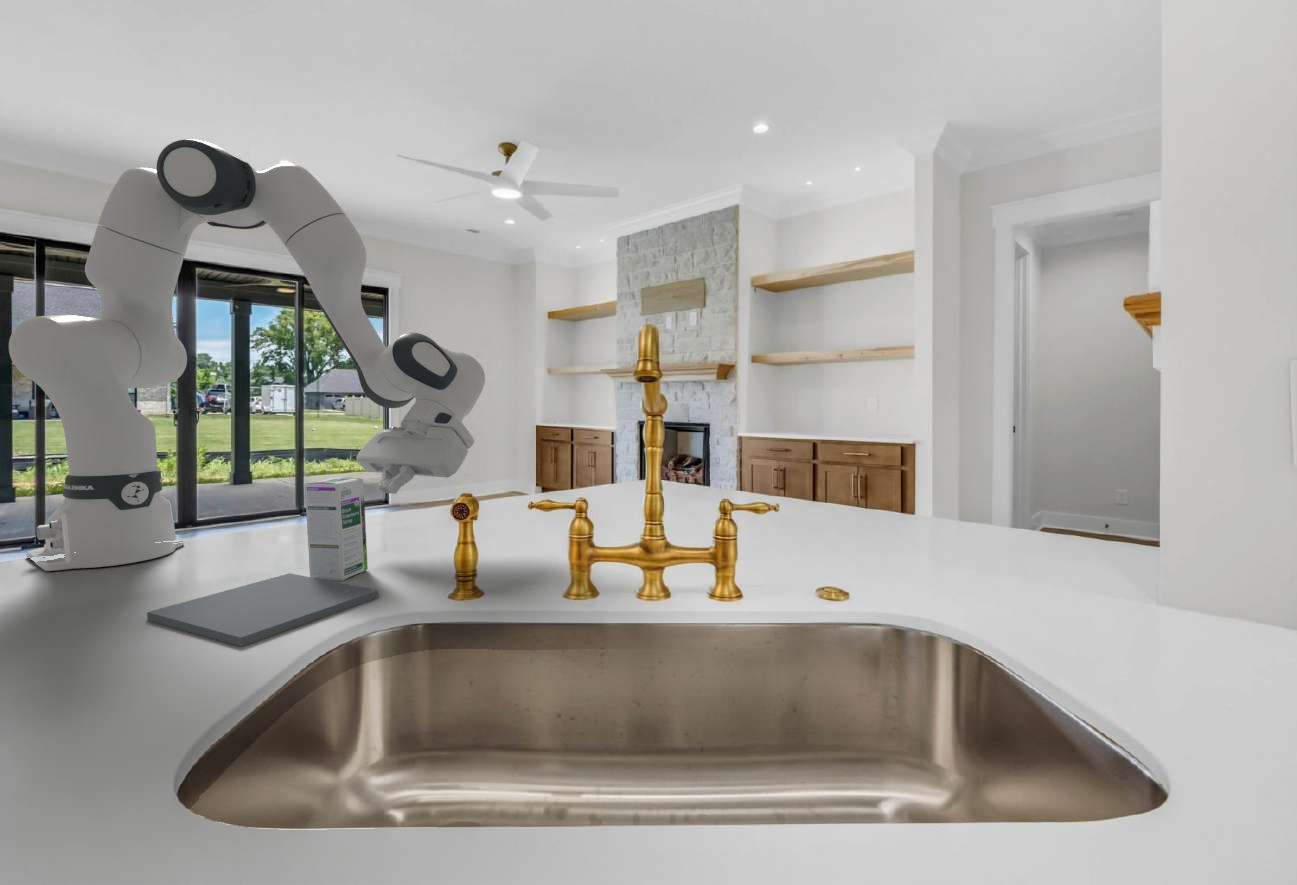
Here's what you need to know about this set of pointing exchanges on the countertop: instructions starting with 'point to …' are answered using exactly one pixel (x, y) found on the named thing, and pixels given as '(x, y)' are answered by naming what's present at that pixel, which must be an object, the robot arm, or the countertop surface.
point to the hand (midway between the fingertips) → (385, 491)
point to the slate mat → (261, 608)
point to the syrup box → (336, 528)
